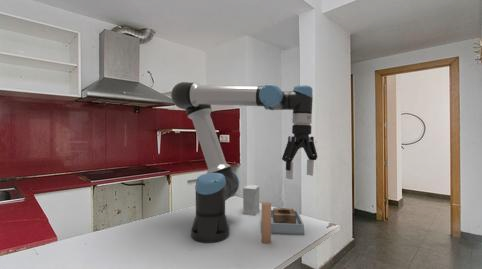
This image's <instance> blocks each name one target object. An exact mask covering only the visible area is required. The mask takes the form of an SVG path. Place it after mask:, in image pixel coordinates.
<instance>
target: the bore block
mask: <svg viewBox="0 0 482 269" xmlns="http://www.w3.org/2000/svg"><path fill="white" fill-rule="evenodd" d="M272 210H273V222H274V223H287V224H296V214H295V212H294V211H295V209H294V208H283V207H281V208H280V207H279V208H277V207H273V208H272Z"/></svg>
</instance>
